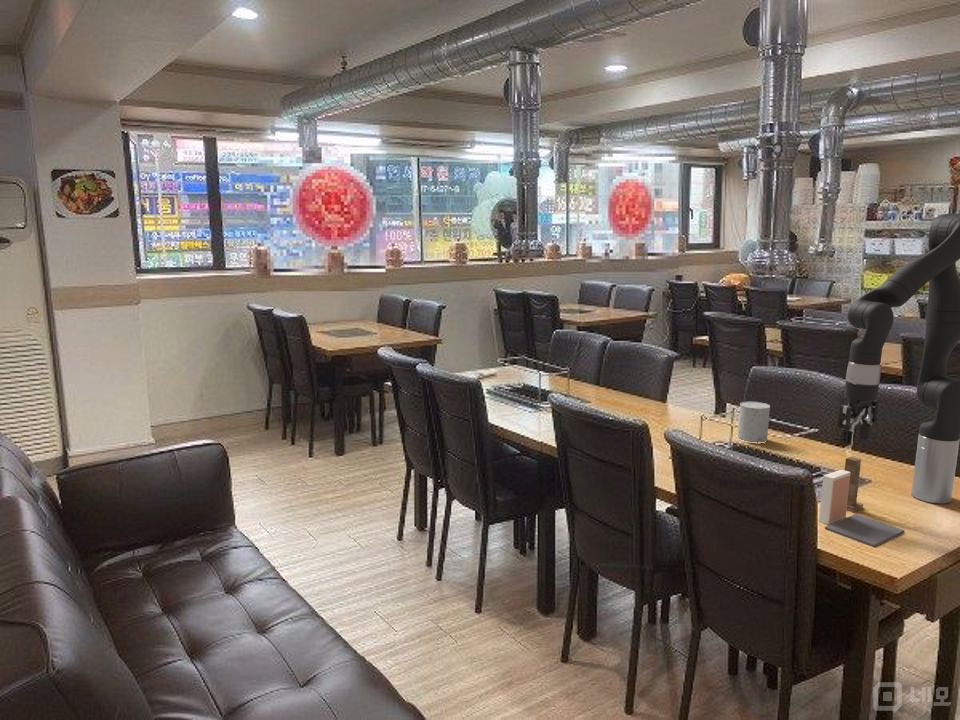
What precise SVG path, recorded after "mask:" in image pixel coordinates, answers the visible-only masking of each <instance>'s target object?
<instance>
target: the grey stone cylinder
mask: <svg viewBox="0 0 960 720" xmlns="http://www.w3.org/2000/svg"><path fill="white" fill-rule="evenodd" d="M770 410H771V405H770V404H768V403H764V402H761V401H760V402H759V401H742V402H740V403H739V415H738V430H737V431H738V432H737V438H739V439H741V440H744V441H749V442H757V443H758V442H765V441H767V442H768V434H769V422H770Z"/></svg>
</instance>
